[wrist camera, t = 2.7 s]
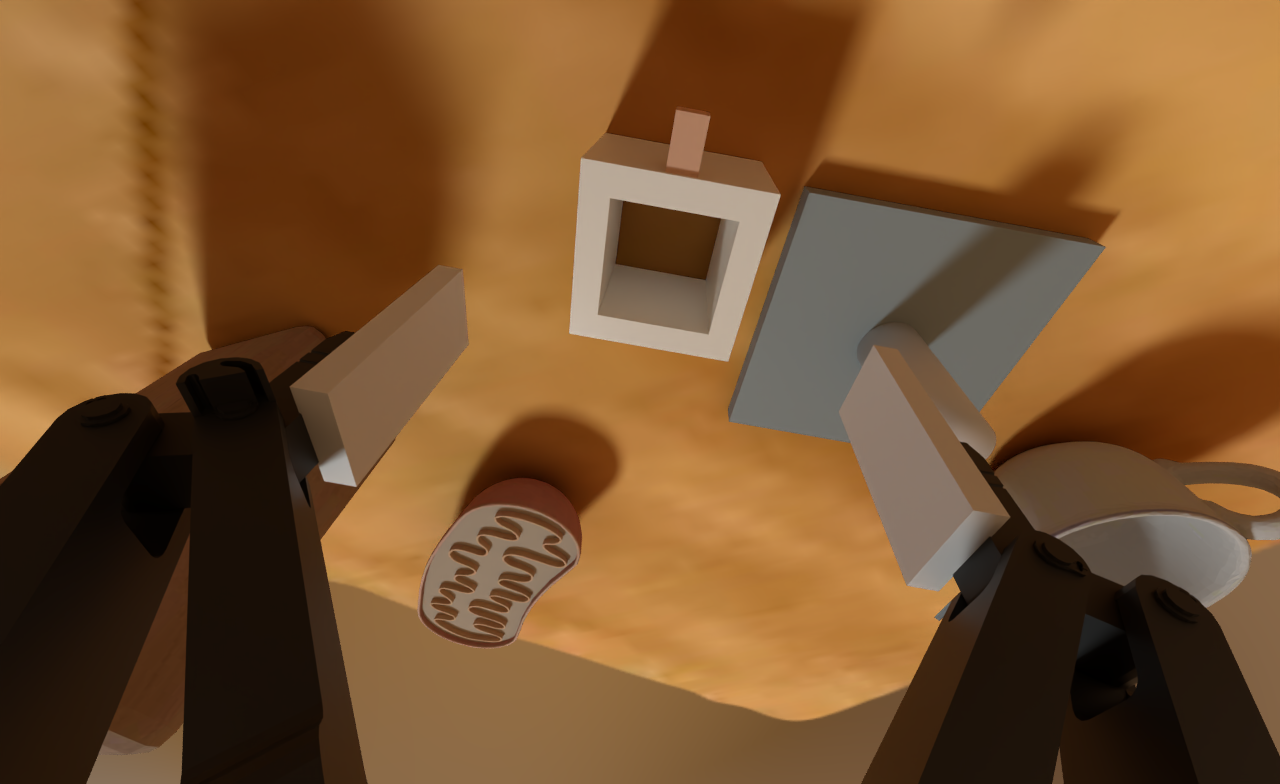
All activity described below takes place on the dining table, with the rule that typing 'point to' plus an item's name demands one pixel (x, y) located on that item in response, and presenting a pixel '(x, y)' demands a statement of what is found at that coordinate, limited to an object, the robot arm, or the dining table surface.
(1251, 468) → the teacup
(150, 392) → the wooden block
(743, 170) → the white square sleeve
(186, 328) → the dining table surface
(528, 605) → the anatomical model
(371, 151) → the dining table surface
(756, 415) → the board
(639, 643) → the dining table surface
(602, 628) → the dining table surface
